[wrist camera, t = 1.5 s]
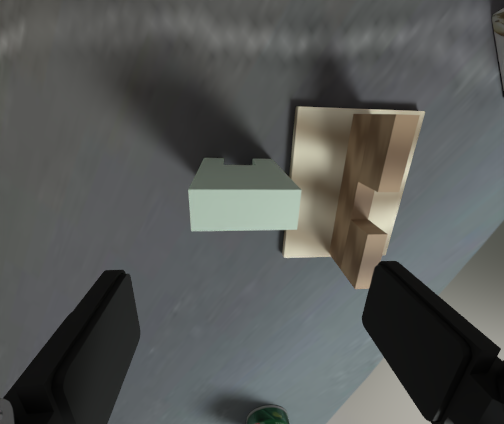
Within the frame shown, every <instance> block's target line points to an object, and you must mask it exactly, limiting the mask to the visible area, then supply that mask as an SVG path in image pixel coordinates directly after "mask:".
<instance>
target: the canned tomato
mask: <svg viewBox="0 0 504 424" xmlns="http://www.w3.org/2000/svg"><path fill="white" fill-rule="evenodd" d="M246 423H247V424H289V420H288V414H287V412H286V410H285V409H284V408H282V407H280V406H276V405H265V406H261V407H258V408H256V409H254V410H253V411H251V412H250V413H249V415H248V416H247V419H246Z"/></svg>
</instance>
